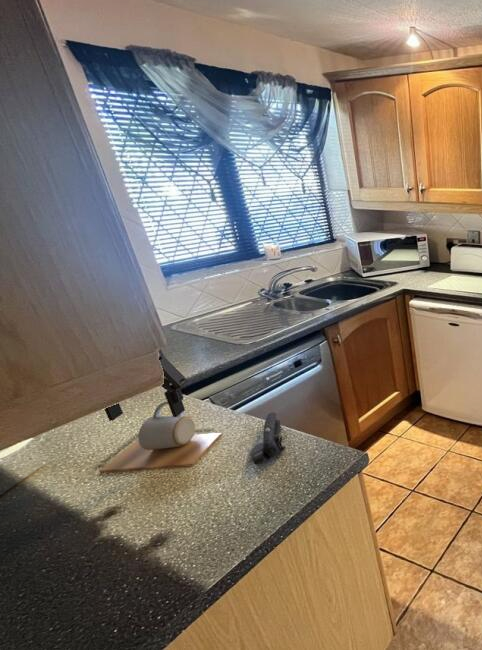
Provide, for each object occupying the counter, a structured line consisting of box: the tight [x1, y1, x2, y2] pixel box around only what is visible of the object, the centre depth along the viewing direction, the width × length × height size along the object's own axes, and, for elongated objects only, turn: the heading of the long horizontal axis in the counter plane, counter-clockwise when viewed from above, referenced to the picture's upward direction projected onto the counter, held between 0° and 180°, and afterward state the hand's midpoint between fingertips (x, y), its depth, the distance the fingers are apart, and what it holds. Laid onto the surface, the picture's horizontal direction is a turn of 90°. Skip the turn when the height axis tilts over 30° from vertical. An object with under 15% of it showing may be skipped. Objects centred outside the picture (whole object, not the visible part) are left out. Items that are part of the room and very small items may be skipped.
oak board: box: [98, 432, 223, 473], centre depth 92 cm, size 20×11×1 cm, turn 95°
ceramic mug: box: [137, 401, 196, 450], centre depth 92 cm, size 11×8×8 cm
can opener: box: [251, 412, 286, 465], centre depth 94 cm, size 18×7×6 cm, turn 26°
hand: (148, 415), depth 89 cm, fingers open, 13 cm apart
